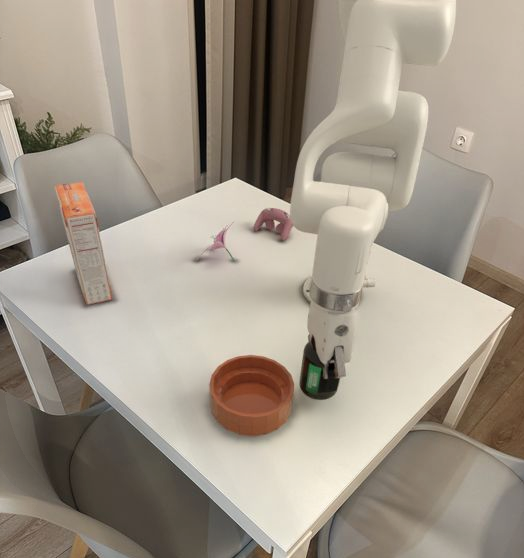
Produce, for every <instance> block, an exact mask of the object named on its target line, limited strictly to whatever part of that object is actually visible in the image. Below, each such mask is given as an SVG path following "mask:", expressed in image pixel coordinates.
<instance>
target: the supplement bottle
mask: <svg viewBox="0 0 524 558" xmlns="http://www.w3.org/2000/svg"><path fill="white" fill-rule="evenodd" d="M302 352H303V353H302V358H301V367H300V374H299V382H298V386H299V388H300V391H301V392H302V393H303V394H304V396H306V397H308V398H309V399H312V400H316V401H325V400H329V399H332V398H333V397H334V396H335V395H336V393H337V392H338V389H339V386H340V381H341V378H339V383H338V387H337V390H336V391H334V392H325V393H319V392H318V385H319V380H320V374H323V363H322V362H321V361H320V359H319V356H318V354H317V352H316V344H315V338H314V336H313V335H312V338H311V340H310V341H308V342H306V344H305V345H304V348H303V351H302ZM332 358H334V357H333V356H332ZM332 370H335V365H334V363H331V364H328V371H332Z"/></svg>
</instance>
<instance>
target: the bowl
mask: <svg viewBox="0 0 524 558" xmlns="http://www.w3.org/2000/svg"><path fill="white" fill-rule="evenodd" d="M208 386H209V387H208V388H209V389H208V390H209V406H210V412H211V414H212V417H213V418H214V420H215V421H216V422H217V423H218V424H219V425H220V426H221V427H223V428H224V429H225V430H227V431H229V432H232V433H234V434H237V435H238V436H239V435H240V436H241V435H242V436H249V437H257V436H263V435H268V434H270V433H272V432H276V431H277V430H279V429H280V428H281V427H282V426H283V425H284V424H286V423H287V421H288V419H289V417H290V416H291V414H292V410H293V402H294V401H293V400H294V393H295V382H294V379H293V376H292V374H291V373H290V371H289V370H288V369H287V368H286V367H285V366H284V365H283V364H281V363H279V362H278V361H277V360H275V359H273V358H270V357H267V356H264V355H255V354H247V355H238V356H235V357H231V358H229V359H227V360H225V361H223V362H222V363H221V364H220V365H218V366H217V367H216V368H215V370H214V371H213V372H212V374H211V376H210V379H209V383H208Z"/></svg>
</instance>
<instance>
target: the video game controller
mask: <svg viewBox="0 0 524 558" xmlns="http://www.w3.org/2000/svg"><path fill="white" fill-rule="evenodd" d="M275 222H278V223H277V225H276V223H275ZM264 225H265V228H266V230H273V229H275V231H276V233H278V234H281V235H280V240H281V241H282V242H284V241H286V240H287V238H288V237H289V236H290V234H291V231H292V229H293V228H294V226H293V224H292V222H291V218H290V213H288V212H286V211H285V210H282V209H281V208H276V207H265V208H264V209H263V210H261V211H260V213H259V215H258V216H257V218H256V220H255V222H254V224H253V230H254V231H255V232H257V231H258V230H260V229H261V227H263V226H264Z"/></svg>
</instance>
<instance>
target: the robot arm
mask: <svg viewBox="0 0 524 558" xmlns="http://www.w3.org/2000/svg"><path fill="white" fill-rule="evenodd" d="M337 9H338V18H339V23H340V28H341V33H342V38H343V43H344V44H343V45H344V50H343V57H342V63H341V64H342V65H341V68H340V69H341V70H340V77H339V83H338V89H337V95H336V102H335V106H334V108H333V110H332V111H331V113H330V114H329V115H328V116H326V117H325V118H323V120H322V121H321V122H320V123H319V124H318V125H316V127H315V128H313V130H312V132H311V133H310V134H309V136H308V137H307V139H306V140H305V142H304V144H303V146H302V147H301V149H300V152H299V155H298V157H297V161H296V165H295V172H294V179H293V185H292V190H291V196H290V197H291V198H290V207H289V215H290V218H291V222H292V224H293V228H295V229H296V230H297V231H299V232H302V233H307V234H311V235H317V236H316V244H315V250H314V257H313V265H312V271H311V276H310V277H308V278H307V279H306V280H305V281H304V282H303V285H302V286H303V287H302V293H303V296H304V297H305V299H306V300H307V301H308V302H310V304H309V309H308V315H307V323H306V324H307V325H306V326H307V332H308V335H307V341H308V342H309V341H310V340H311V338H312V335H313V336H314V338H315V344H316V352H317V354H318V356H319V359H320V361H321V362H322V363H323V374H320V380H319V385H318V392H319V393H325V392H334V391H336V390H337V387H338V388H339V386H338V383H339V384H340V381H339V378H340V379H341V378H346V377H347V372H346V371H347V370H346V365H345V364H346V363H350V362H351V360H352V357H353V352H354V346H355V339H356V334H357V333H356V332H357V321H358V320H357V319H358V317H357V316H358V315H357V314H358V310H357V308H358V306H359V304H360V300H361V295H362V291H363V288H368V289H369V288H375V287H376V279H375V278H374V277H373V278H367V275H366V272H367V269H368V265H369V259H370V256H371V252H372V251H371V250H372V247H373V244H374V242H375V240H376V238H378V236H379V233H380V232H382V230H383V229H384V227H385V225H386V222H387V219H388V215H389V211H402V210H404V209H405V208H406V207H407V206H408V204H409V203H410V201H411V199H412V195H413V192H414V188H415V184H416V181H417V175H418V170H419V166H420V162H421V161H420V160H421V156H422V151H423V147H424V142H425V138H426V134H427V128H428V124H429V123H428V122H429V104H428V101H427V98H426V97H424V95H422V94H420V93H418V92H413V91H405V90H399V87H400V81H401V75H402V69H403V65H404V64H405V65H415V66H425V67H434V66H437V65H439V64H440V63H441V62H443V60H444V59H445V58H446V56H447V54H448V51H449V49H450V46H451V44H452V40H453V36H454V30H455V26H456V15H457V0H337ZM340 140H341V141H342V142H345V143H346V144H347V143H348V144H352V145H358V146H364V147H365V146H366V147H371V148H372V147H374V148H380V149H381V148H382V149H388V150H389V149H390V150H391V151H393V152H394V153H395V156H388V155H379V154H373V153H365V152H357V151H338V152H333V153H332V154H330V155H328V156H327V157H326V158H325V160H324V162H323V164H322V166H321V172H320V181H316V180H314V175H315V169H316V166H317V163H318V161H319V158H320V157H321V156H322V154H323V153H324V152H325V151H326V150H327V149H328V148H329V147H330V146H331V145H333V144H335V143H336V142H339V141H340ZM332 356H333V357H334V358H332ZM331 363H334V365H335V370H332V371H328V364H331ZM337 391H338V390H337Z"/></svg>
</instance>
